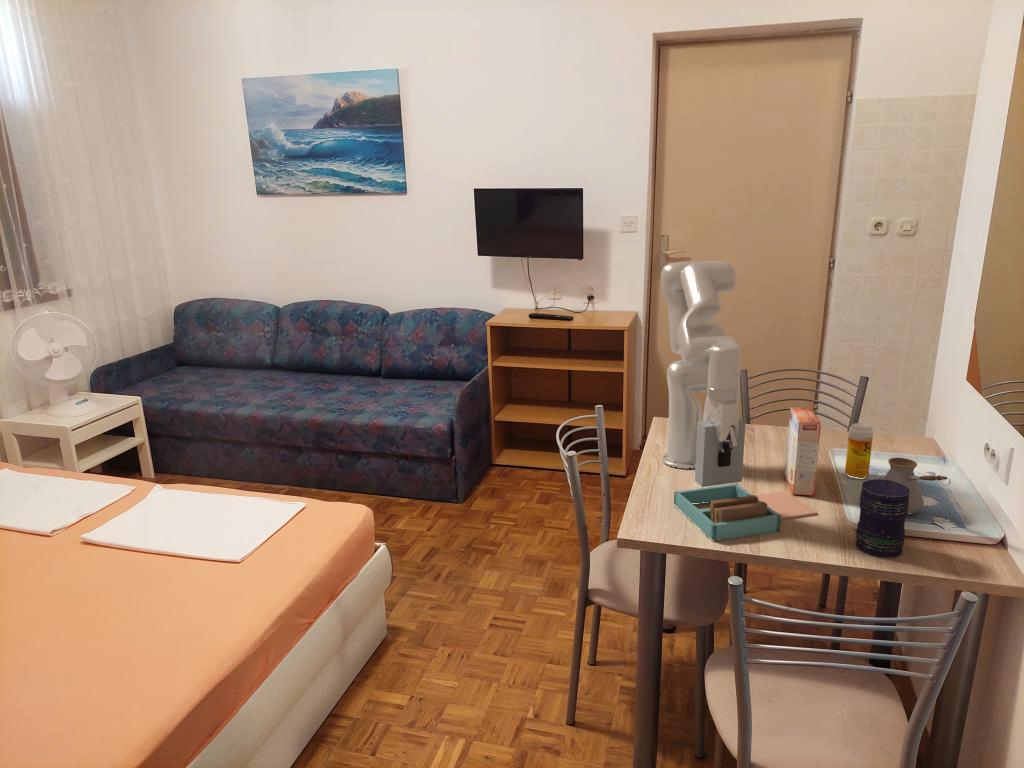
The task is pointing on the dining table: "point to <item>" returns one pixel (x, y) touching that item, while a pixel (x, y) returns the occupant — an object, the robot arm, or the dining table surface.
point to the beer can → (859, 450)
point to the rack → (725, 528)
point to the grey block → (708, 457)
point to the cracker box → (802, 450)
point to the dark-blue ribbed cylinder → (882, 518)
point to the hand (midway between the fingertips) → (719, 461)
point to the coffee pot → (909, 480)
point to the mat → (786, 505)
